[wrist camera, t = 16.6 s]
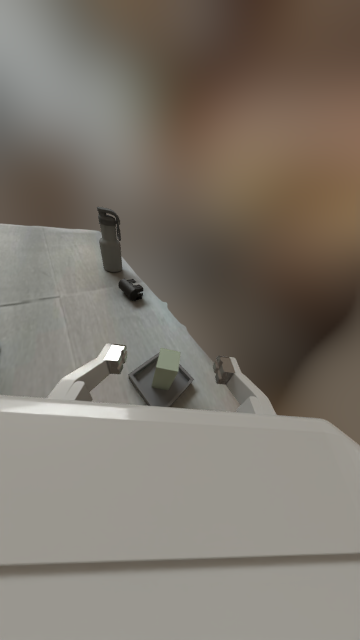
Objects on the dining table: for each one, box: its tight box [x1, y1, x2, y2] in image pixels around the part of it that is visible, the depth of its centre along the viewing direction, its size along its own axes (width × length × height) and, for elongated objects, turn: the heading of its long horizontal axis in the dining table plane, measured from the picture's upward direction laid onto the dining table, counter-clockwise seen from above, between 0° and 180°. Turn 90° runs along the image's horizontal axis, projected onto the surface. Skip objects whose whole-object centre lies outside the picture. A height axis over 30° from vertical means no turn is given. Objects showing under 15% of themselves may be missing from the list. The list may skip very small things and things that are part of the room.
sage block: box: [151, 348, 180, 390], centre depth 35 cm, size 5×5×13 cm
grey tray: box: [128, 352, 194, 407], centre depth 39 cm, size 14×14×3 cm
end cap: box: [119, 279, 143, 301], centre depth 62 cm, size 10×7×7 cm
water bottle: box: [97, 207, 122, 272], centre depth 68 cm, size 10×10×28 cm
